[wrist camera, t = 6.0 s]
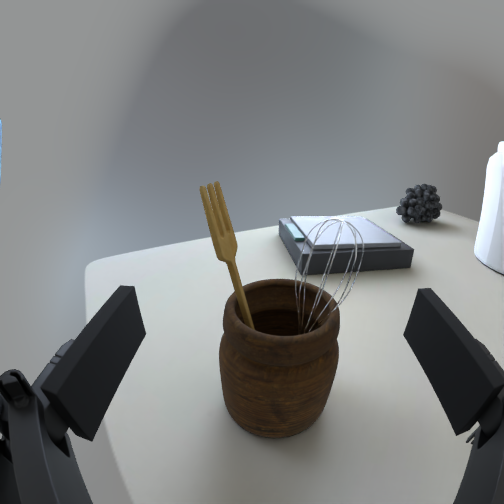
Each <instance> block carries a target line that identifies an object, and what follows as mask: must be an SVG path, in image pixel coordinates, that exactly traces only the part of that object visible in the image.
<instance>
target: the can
mask: <svg viewBox="0 0 504 504" xmlns="http://www.w3.org/2000/svg"><path fill="white" fill-rule="evenodd" d="M474 252H475V256H476V257H477V258H478V259H479V260H480V261H481V262H482V263H484V264H485V265H486V266H488V267H490V268H491V269H493V270H495V271H497V272H499V273H502V274H504V141H502V142H499V145H498V153H495V154H494V155H493V156H492V157H490V159H489V162H488V165H487V173H486V183H485V192H484V199H483V206H482V212H481V218H480V223H479V228H478V233H477V238H476V242H475V247H474Z"/></svg>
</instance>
